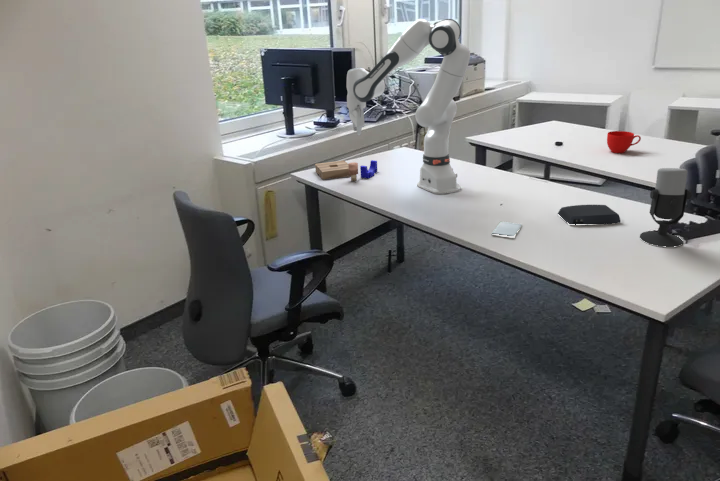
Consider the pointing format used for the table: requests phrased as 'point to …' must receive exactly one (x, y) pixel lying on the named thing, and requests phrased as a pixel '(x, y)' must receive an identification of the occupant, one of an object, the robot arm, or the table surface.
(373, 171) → the cable clip
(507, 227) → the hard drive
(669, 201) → the microphone
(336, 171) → the board
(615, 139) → the ceramic cup
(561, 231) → the table surface
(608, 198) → the table surface
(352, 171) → the peg
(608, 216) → the external hard drive
